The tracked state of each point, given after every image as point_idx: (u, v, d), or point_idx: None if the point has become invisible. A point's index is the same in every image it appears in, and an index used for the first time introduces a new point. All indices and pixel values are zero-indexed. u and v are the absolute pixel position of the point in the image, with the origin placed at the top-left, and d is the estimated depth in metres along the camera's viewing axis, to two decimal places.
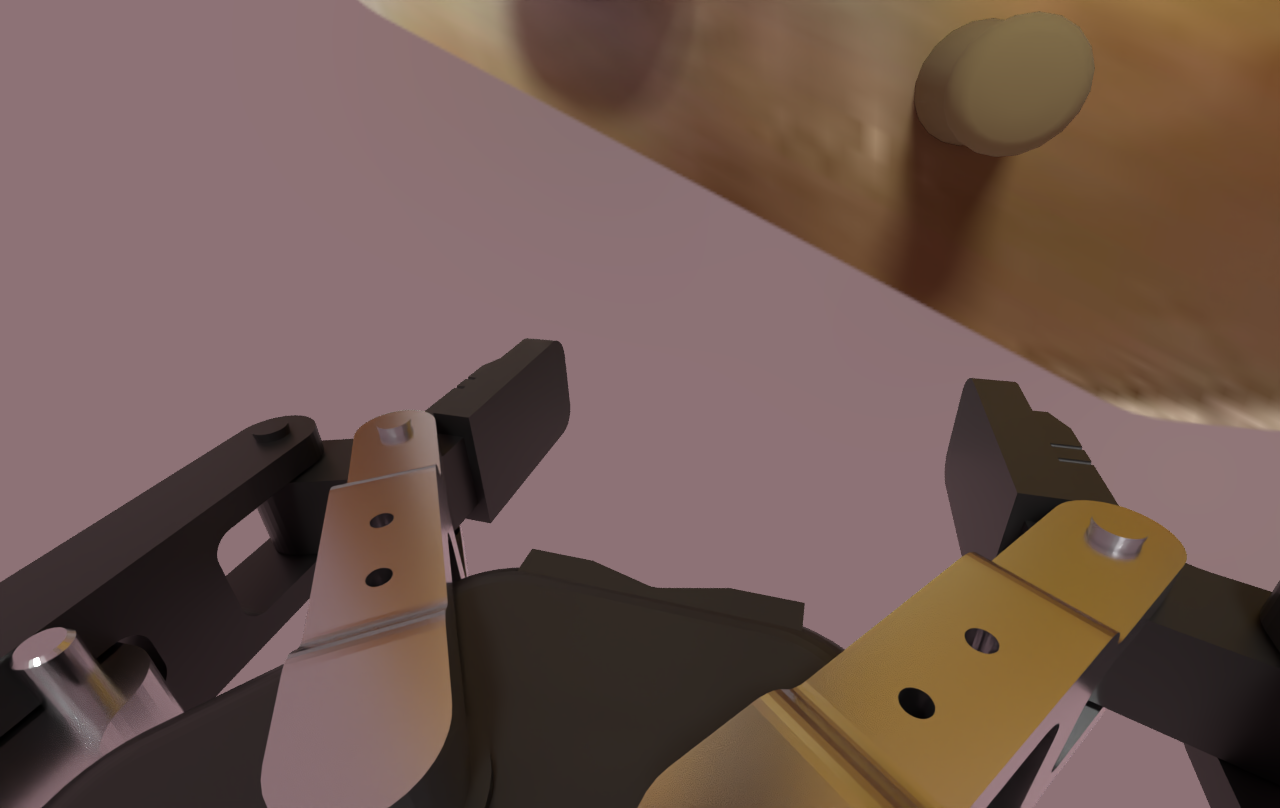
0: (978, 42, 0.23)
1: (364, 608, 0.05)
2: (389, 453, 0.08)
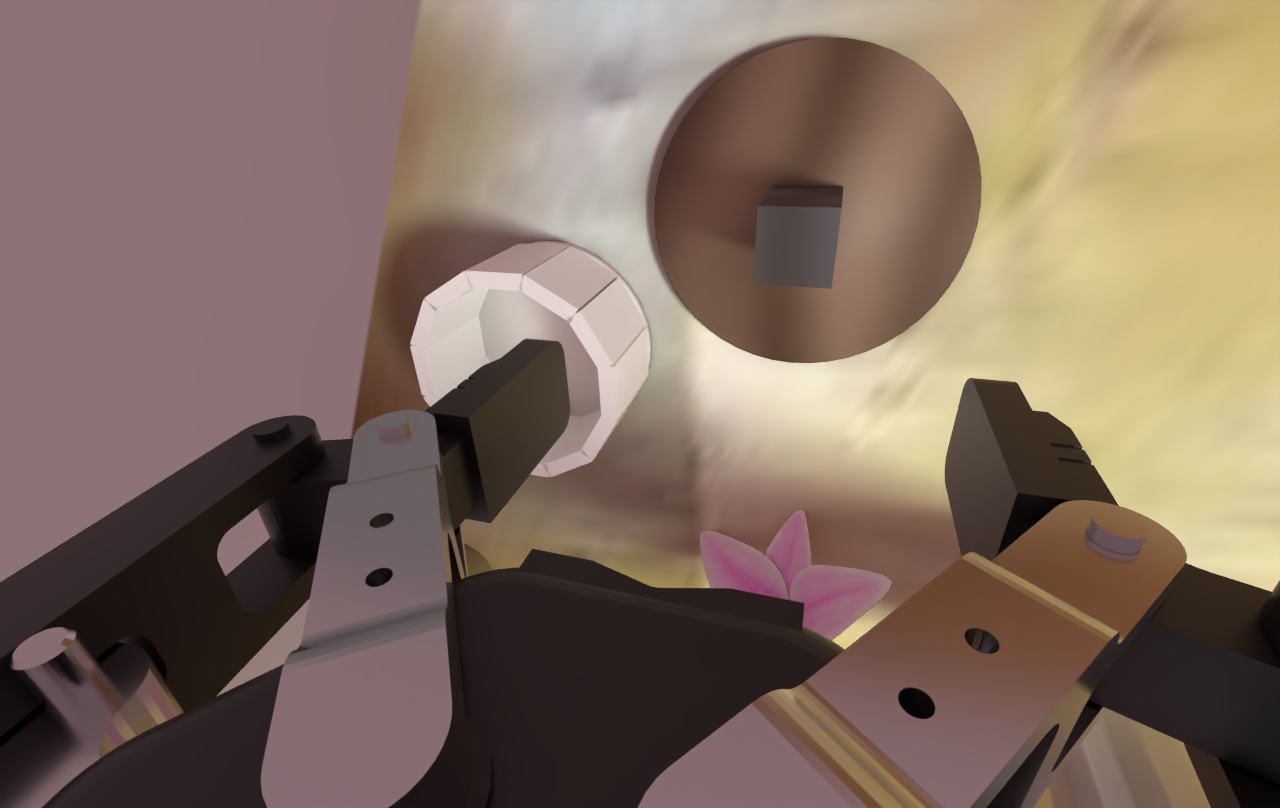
0: None
1: (364, 608, 0.05)
2: (389, 453, 0.08)
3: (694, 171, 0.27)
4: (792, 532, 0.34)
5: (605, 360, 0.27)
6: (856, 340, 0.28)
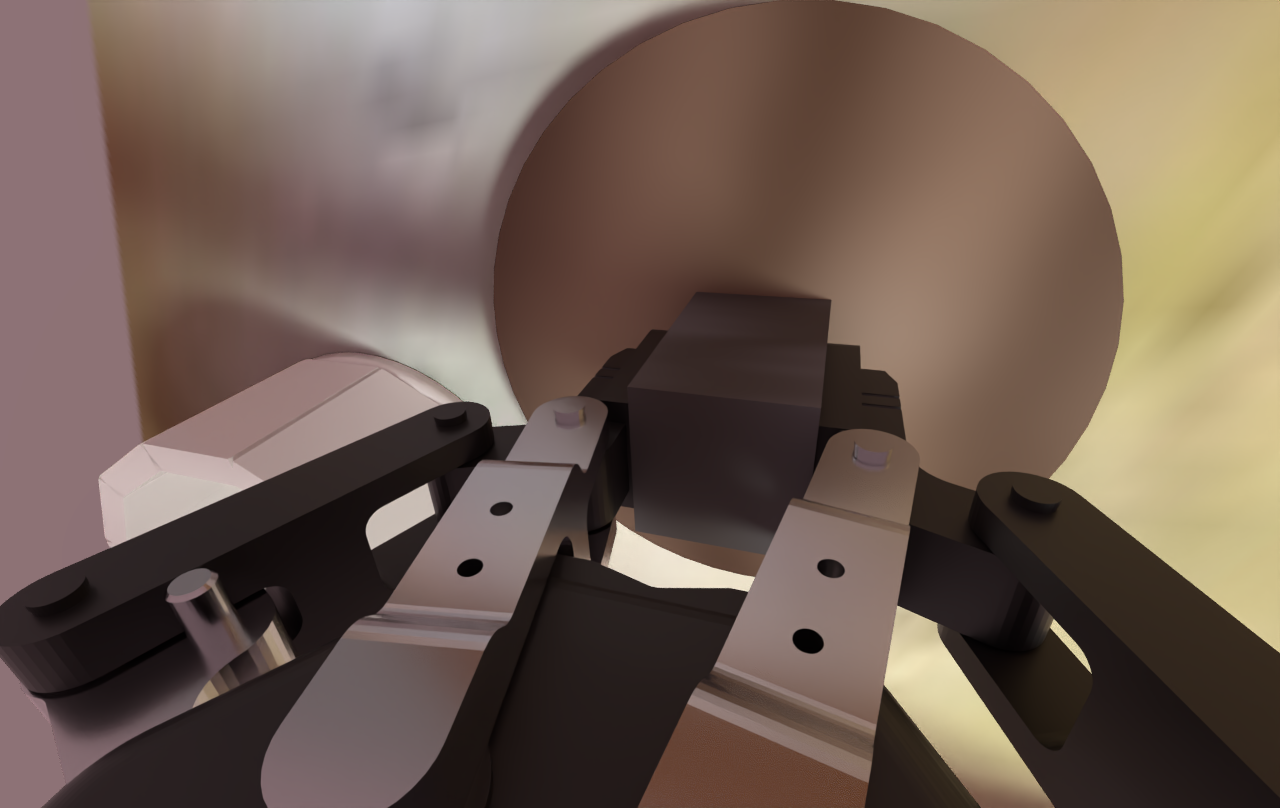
0: None
1: (442, 596, 0.05)
2: (576, 437, 0.09)
3: (554, 261, 0.14)
4: None
5: None
6: None
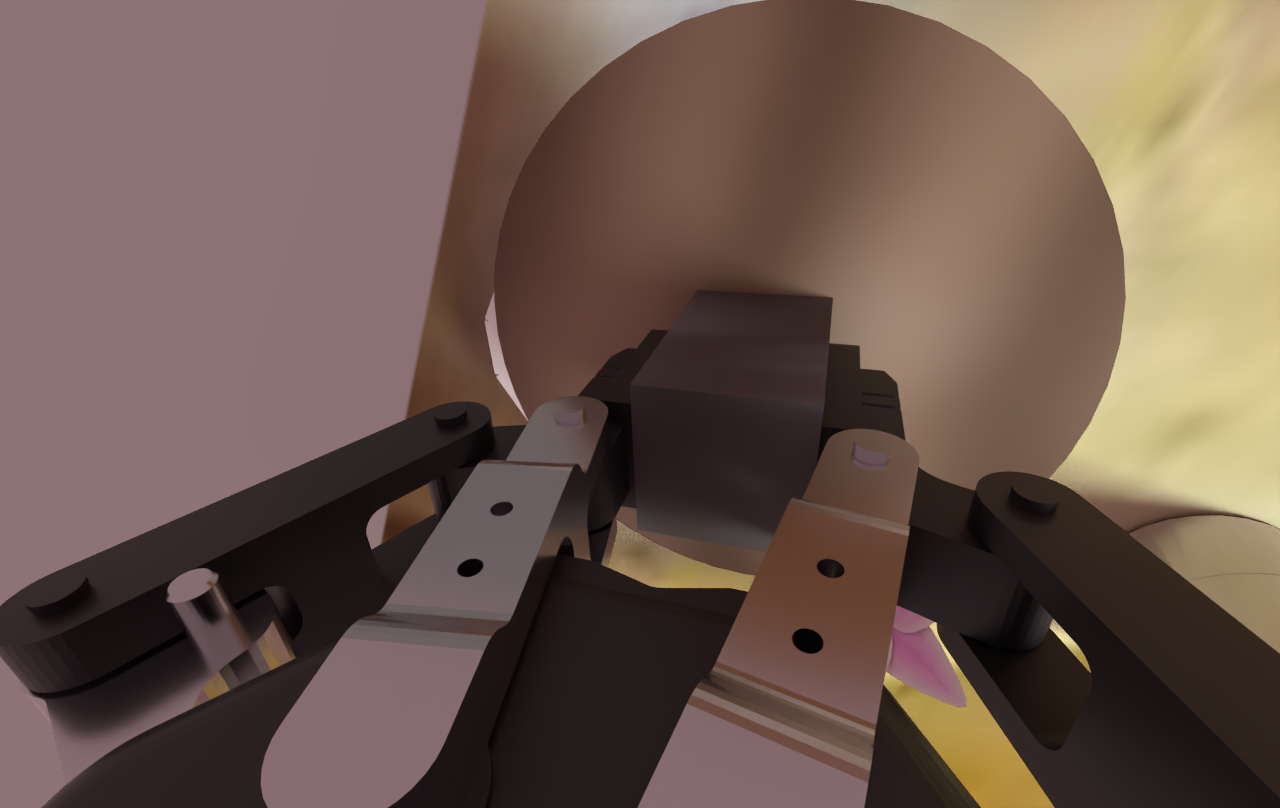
0: None
1: (443, 595, 0.05)
2: (576, 437, 0.09)
3: (555, 259, 0.14)
4: None
5: None
6: None
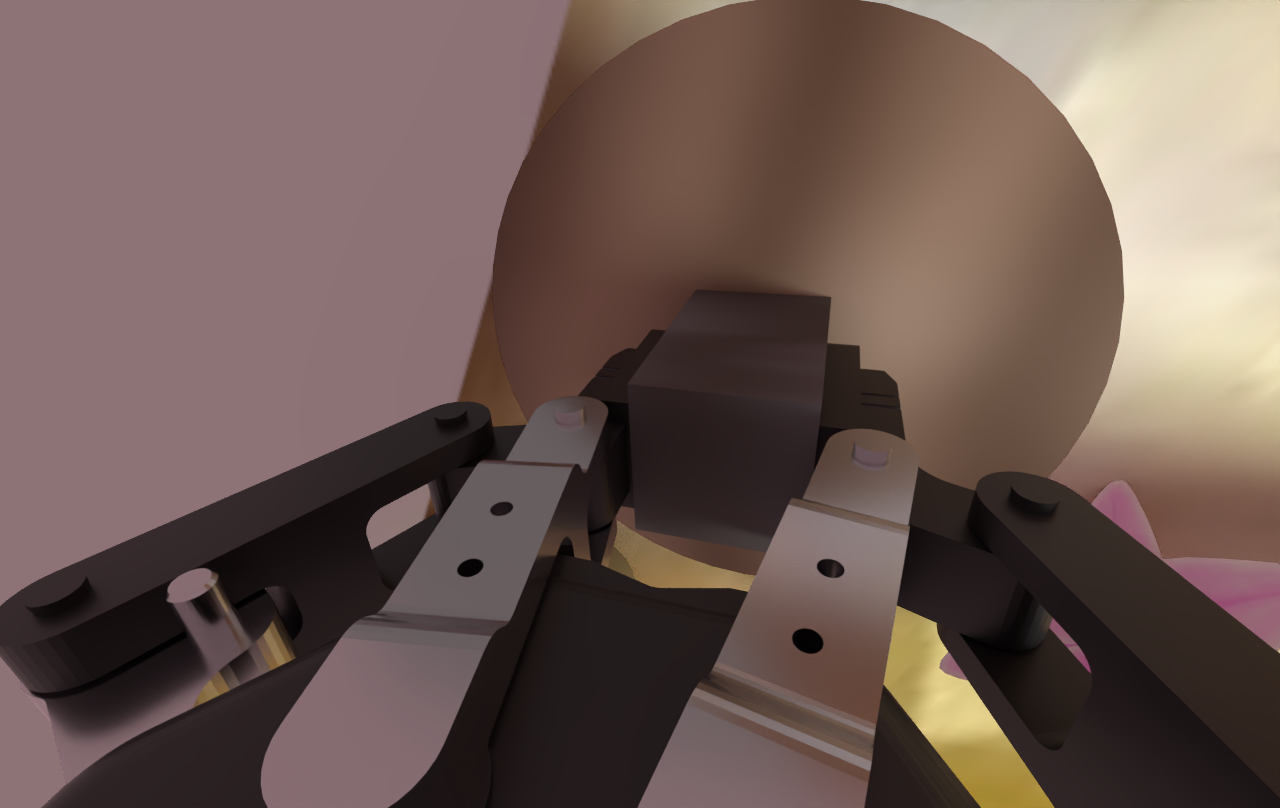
0: None
1: (443, 596, 0.05)
2: (576, 437, 0.09)
3: (553, 259, 0.14)
4: (1110, 512, 0.24)
5: None
6: None
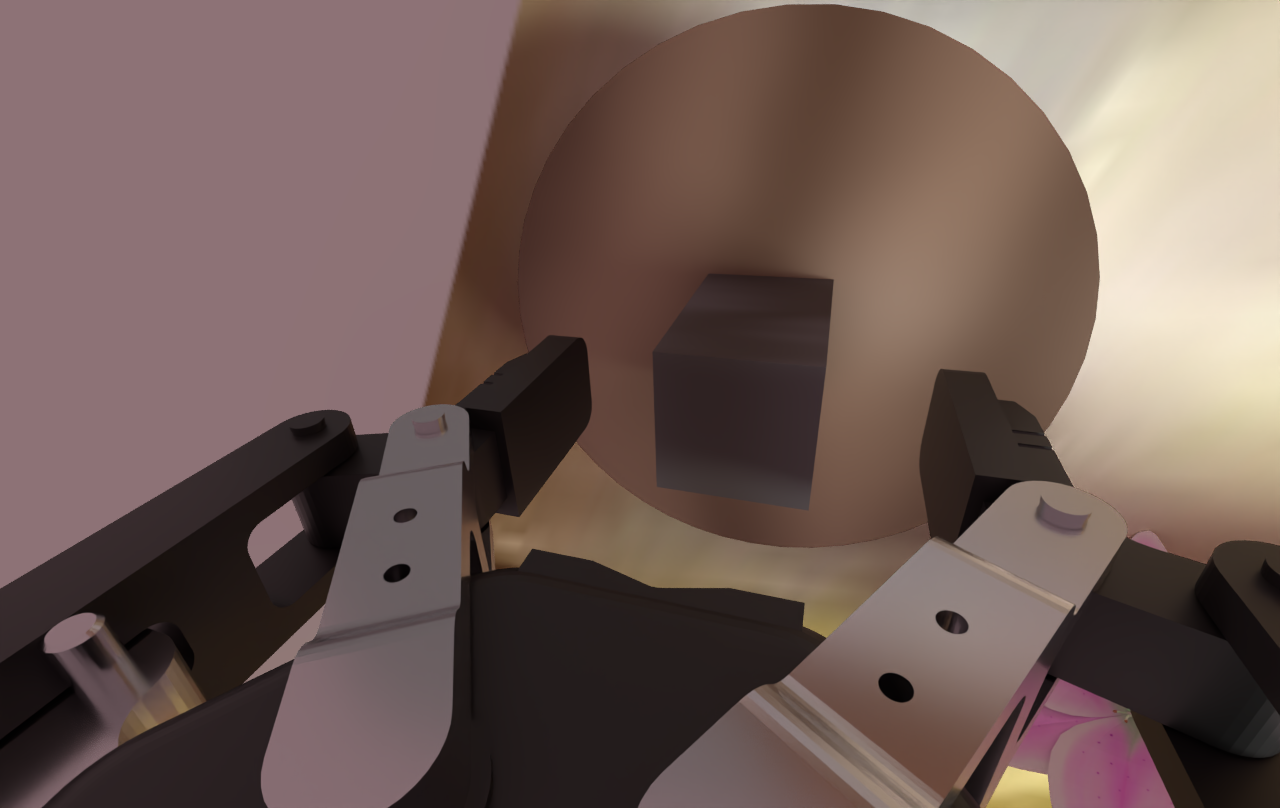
0: None
1: (379, 604, 0.05)
2: (426, 446, 0.09)
3: (575, 245, 0.15)
4: None
5: None
6: (859, 522, 0.17)
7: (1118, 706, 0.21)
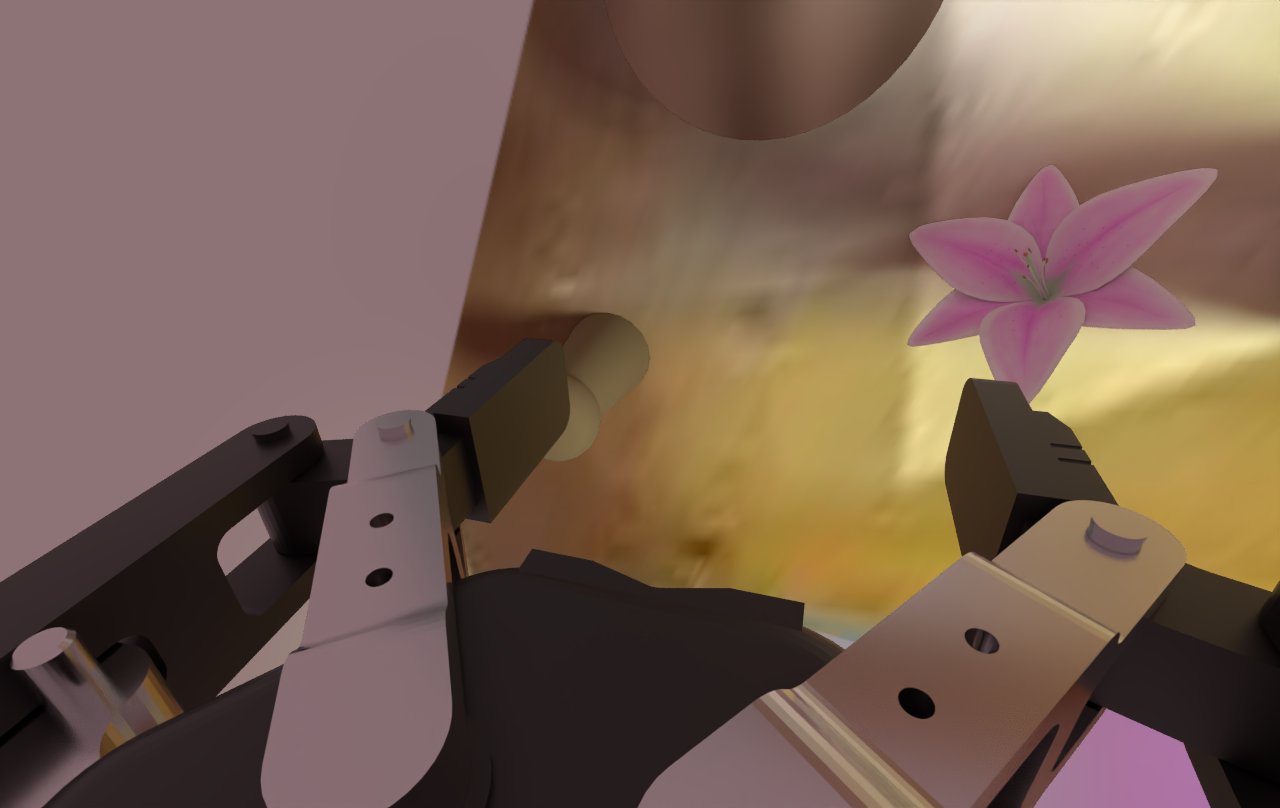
0: (574, 397, 0.32)
1: (364, 608, 0.05)
2: (389, 453, 0.08)
3: None
4: (1040, 190, 0.29)
5: None
6: (836, 98, 0.24)
7: (1031, 294, 0.29)
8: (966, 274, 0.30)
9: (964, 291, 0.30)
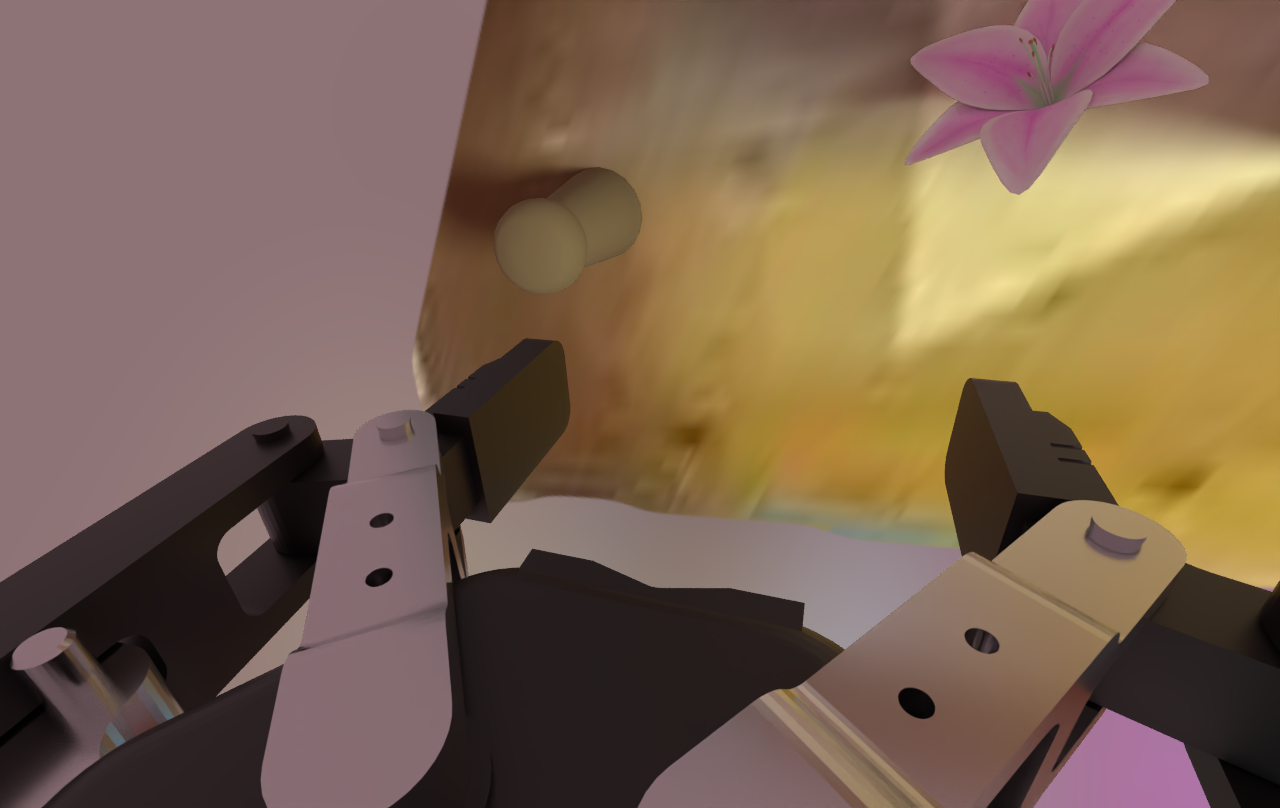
0: (559, 217, 0.31)
1: (364, 608, 0.05)
2: (389, 453, 0.08)
3: None
4: None
5: None
6: None
7: (1036, 103, 0.28)
8: (968, 85, 0.28)
9: (966, 101, 0.28)
